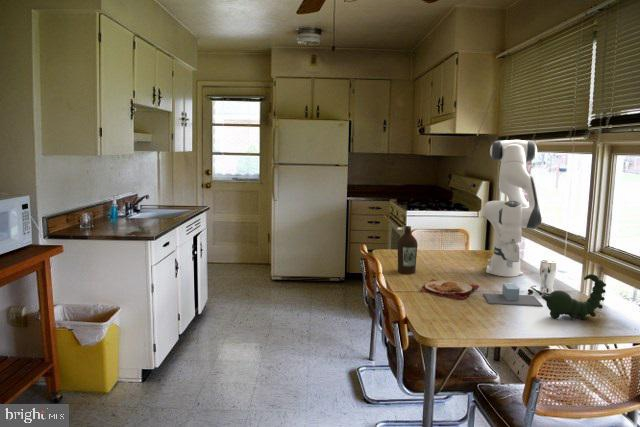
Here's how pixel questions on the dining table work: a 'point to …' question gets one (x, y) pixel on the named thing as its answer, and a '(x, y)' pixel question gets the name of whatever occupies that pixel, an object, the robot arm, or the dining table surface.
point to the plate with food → (449, 288)
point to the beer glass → (547, 275)
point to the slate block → (510, 291)
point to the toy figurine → (566, 305)
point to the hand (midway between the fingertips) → (509, 266)
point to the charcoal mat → (523, 300)
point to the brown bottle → (407, 252)
